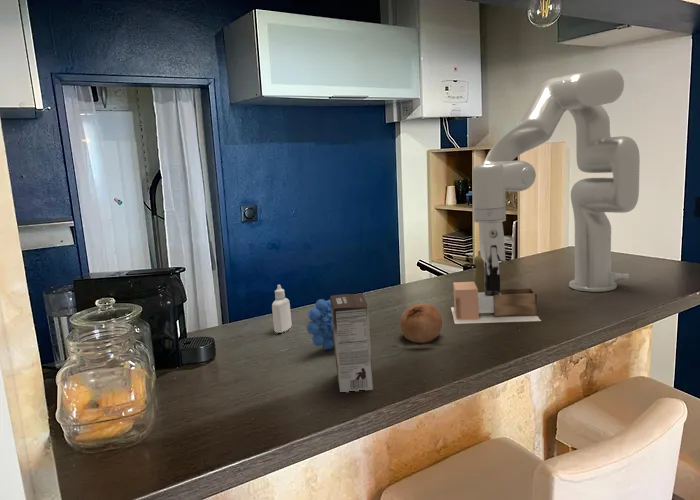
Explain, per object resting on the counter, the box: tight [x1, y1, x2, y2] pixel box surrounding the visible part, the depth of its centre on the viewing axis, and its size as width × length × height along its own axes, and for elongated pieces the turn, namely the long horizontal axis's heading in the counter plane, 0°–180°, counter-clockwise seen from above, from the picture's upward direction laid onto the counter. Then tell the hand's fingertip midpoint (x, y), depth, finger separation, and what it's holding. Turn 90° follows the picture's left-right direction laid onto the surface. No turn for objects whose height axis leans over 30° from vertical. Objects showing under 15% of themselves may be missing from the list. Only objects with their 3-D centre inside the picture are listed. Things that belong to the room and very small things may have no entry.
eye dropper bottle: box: [271, 284, 293, 333], centre depth 132 cm, size 4×6×12 cm
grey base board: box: [450, 306, 542, 325], centre depth 130 cm, size 20×14×1 cm
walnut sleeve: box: [493, 287, 538, 317], centre depth 129 cm, size 10×6×6 cm, turn 83°
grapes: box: [306, 298, 334, 350], centre depth 115 cm, size 12×7×12 cm, turn 138°
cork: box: [473, 254, 485, 292], centre depth 155 cm, size 6×6×11 cm
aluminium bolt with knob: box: [478, 265, 501, 313], centre depth 130 cm, size 10×4×11 cm, turn 83°
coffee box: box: [329, 293, 374, 393], centre depth 97 cm, size 9×6×16 cm
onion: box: [399, 302, 443, 344], centre depth 117 cm, size 10×9×10 cm
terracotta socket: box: [452, 281, 479, 320], centre depth 131 cm, size 5×8×8 cm, turn 173°
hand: (492, 287), depth 129 cm, fingers closed on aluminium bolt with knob, 3 cm apart
